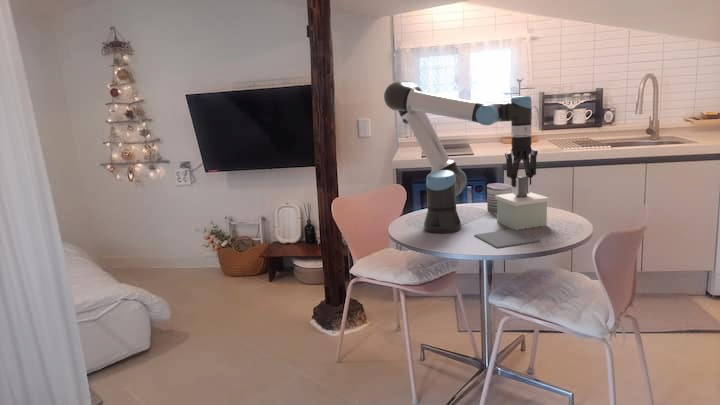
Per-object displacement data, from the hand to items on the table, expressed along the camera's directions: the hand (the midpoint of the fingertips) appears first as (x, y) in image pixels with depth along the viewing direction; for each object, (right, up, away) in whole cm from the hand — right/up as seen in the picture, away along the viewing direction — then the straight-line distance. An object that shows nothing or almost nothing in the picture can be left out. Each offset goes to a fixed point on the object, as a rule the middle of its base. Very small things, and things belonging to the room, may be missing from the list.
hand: (521, 193), depth 197 cm
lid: (0, -3, +1) cm, 3 cm away
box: (+1, -12, +3) cm, 13 cm away
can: (-1, -8, +26) cm, 28 cm away
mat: (-11, -17, -15) cm, 25 cm away
